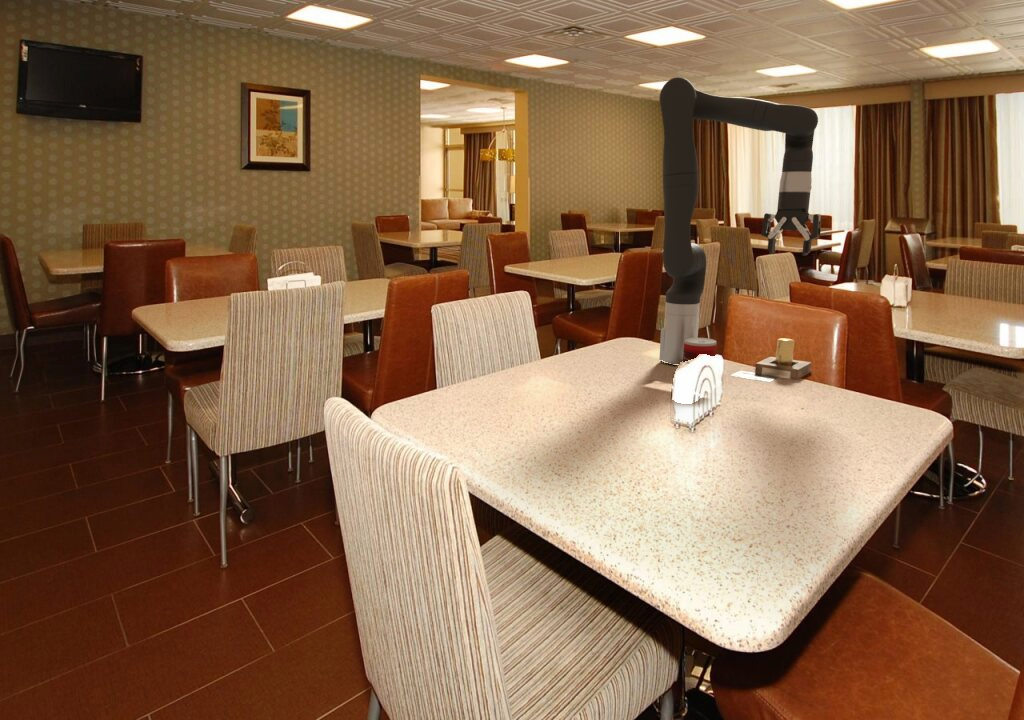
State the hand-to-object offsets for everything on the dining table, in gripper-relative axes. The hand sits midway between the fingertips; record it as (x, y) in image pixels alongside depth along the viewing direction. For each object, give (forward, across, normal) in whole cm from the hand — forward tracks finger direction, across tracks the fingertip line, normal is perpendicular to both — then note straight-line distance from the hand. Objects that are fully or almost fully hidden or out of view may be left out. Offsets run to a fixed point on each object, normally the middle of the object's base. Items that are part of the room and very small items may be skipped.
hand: (788, 254), depth 176 cm
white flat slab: (+31, +1, -19) cm, 36 cm away
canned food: (+31, -9, -30) cm, 44 cm away
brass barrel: (+31, +5, -10) cm, 33 cm away
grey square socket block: (+31, +5, -10) cm, 33 cm away
